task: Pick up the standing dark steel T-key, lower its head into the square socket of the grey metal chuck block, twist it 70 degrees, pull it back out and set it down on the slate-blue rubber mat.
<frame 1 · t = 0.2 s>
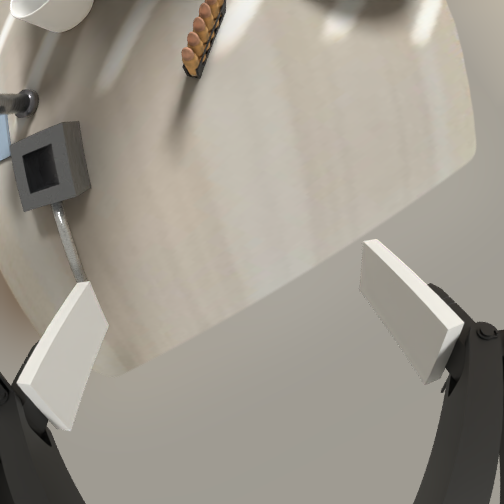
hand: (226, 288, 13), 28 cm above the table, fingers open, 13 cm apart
key: (28, 103, 29), on the table
mug: (74, 0, 23), on the table
chuck block: (57, 163, 34), on the table
ammunition clip: (206, 42, 30), on the table
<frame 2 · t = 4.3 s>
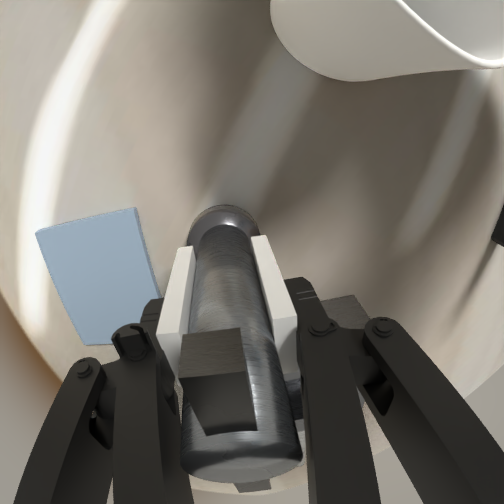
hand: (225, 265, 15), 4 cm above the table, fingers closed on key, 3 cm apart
key: (224, 238, 18), on the table, touching gripper
mug: (338, 3, 12), on the table
chuck block: (292, 353, 23), on the table
mat: (104, 284, 19), on the table
when the fingers open (5 cm above the table, at t = 16.4 s): key stays where it is, resting on mat.
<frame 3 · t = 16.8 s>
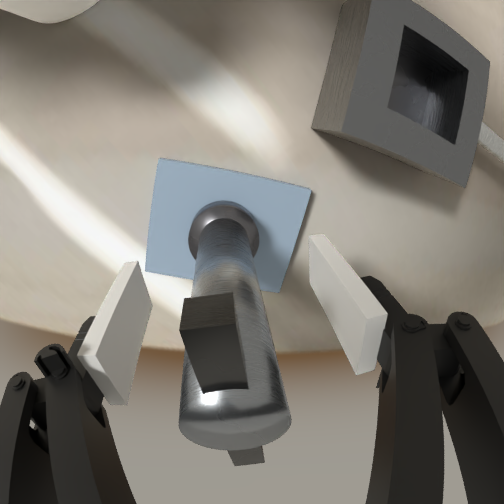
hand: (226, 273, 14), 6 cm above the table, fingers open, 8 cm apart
key: (223, 232, 19), point 1 cm above the table, touching mat
chuck block: (390, 88, 16), on the table
mat: (223, 228, 20), on the table
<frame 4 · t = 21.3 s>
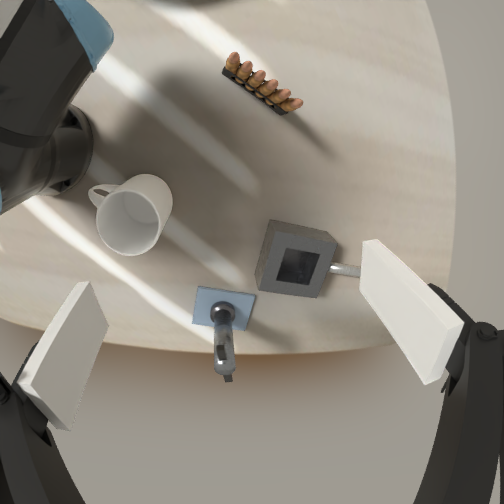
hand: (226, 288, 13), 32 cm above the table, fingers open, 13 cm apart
key: (222, 311, 51), point 1 cm above the table, touching mat
mug: (137, 195, 42), on the table
chuck block: (290, 253, 49), on the table
mat: (222, 308, 52), on the table
ammunition clip: (255, 89, 37), on the table
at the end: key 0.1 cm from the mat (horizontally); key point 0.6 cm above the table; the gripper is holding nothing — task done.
